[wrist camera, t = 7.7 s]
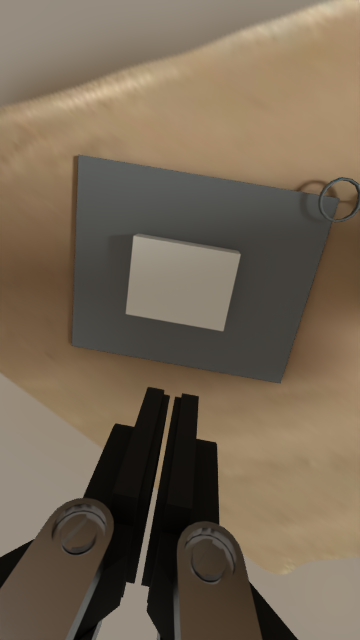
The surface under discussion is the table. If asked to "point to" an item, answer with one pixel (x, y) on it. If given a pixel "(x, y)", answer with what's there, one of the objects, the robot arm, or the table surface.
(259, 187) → the mat
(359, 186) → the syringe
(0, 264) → the table surface
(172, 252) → the tile
